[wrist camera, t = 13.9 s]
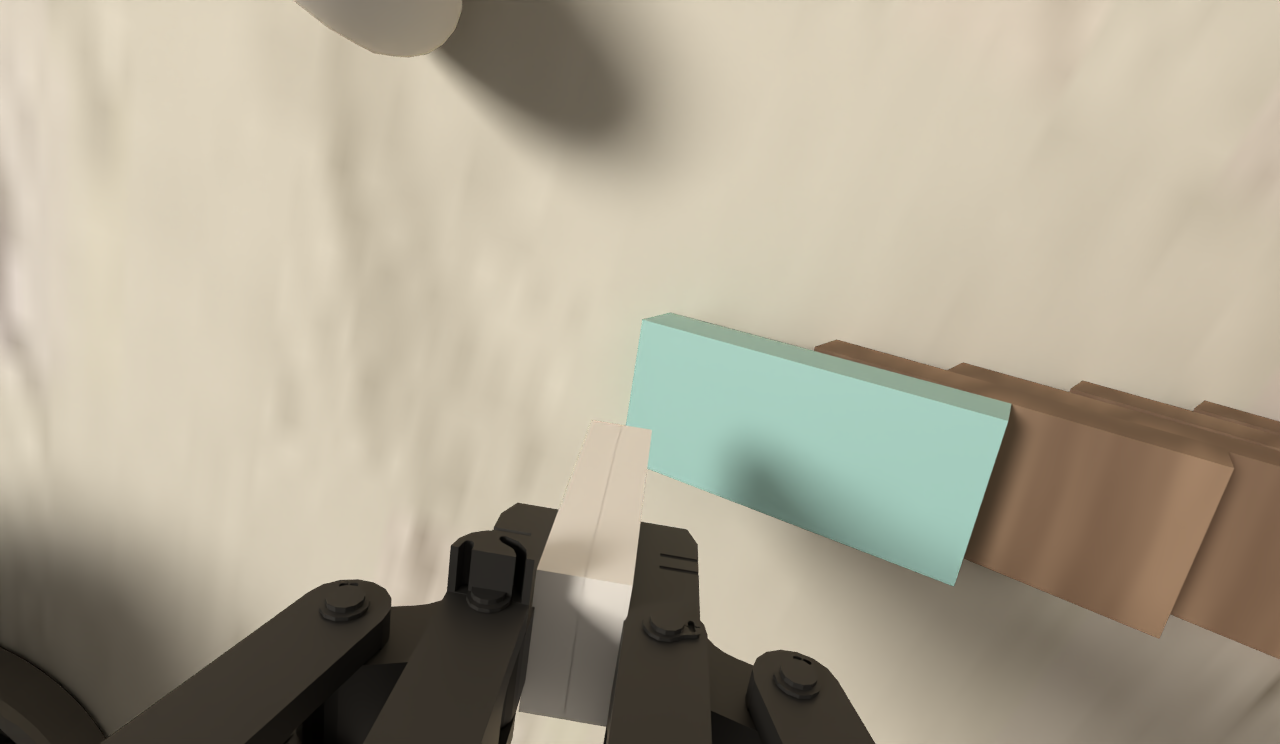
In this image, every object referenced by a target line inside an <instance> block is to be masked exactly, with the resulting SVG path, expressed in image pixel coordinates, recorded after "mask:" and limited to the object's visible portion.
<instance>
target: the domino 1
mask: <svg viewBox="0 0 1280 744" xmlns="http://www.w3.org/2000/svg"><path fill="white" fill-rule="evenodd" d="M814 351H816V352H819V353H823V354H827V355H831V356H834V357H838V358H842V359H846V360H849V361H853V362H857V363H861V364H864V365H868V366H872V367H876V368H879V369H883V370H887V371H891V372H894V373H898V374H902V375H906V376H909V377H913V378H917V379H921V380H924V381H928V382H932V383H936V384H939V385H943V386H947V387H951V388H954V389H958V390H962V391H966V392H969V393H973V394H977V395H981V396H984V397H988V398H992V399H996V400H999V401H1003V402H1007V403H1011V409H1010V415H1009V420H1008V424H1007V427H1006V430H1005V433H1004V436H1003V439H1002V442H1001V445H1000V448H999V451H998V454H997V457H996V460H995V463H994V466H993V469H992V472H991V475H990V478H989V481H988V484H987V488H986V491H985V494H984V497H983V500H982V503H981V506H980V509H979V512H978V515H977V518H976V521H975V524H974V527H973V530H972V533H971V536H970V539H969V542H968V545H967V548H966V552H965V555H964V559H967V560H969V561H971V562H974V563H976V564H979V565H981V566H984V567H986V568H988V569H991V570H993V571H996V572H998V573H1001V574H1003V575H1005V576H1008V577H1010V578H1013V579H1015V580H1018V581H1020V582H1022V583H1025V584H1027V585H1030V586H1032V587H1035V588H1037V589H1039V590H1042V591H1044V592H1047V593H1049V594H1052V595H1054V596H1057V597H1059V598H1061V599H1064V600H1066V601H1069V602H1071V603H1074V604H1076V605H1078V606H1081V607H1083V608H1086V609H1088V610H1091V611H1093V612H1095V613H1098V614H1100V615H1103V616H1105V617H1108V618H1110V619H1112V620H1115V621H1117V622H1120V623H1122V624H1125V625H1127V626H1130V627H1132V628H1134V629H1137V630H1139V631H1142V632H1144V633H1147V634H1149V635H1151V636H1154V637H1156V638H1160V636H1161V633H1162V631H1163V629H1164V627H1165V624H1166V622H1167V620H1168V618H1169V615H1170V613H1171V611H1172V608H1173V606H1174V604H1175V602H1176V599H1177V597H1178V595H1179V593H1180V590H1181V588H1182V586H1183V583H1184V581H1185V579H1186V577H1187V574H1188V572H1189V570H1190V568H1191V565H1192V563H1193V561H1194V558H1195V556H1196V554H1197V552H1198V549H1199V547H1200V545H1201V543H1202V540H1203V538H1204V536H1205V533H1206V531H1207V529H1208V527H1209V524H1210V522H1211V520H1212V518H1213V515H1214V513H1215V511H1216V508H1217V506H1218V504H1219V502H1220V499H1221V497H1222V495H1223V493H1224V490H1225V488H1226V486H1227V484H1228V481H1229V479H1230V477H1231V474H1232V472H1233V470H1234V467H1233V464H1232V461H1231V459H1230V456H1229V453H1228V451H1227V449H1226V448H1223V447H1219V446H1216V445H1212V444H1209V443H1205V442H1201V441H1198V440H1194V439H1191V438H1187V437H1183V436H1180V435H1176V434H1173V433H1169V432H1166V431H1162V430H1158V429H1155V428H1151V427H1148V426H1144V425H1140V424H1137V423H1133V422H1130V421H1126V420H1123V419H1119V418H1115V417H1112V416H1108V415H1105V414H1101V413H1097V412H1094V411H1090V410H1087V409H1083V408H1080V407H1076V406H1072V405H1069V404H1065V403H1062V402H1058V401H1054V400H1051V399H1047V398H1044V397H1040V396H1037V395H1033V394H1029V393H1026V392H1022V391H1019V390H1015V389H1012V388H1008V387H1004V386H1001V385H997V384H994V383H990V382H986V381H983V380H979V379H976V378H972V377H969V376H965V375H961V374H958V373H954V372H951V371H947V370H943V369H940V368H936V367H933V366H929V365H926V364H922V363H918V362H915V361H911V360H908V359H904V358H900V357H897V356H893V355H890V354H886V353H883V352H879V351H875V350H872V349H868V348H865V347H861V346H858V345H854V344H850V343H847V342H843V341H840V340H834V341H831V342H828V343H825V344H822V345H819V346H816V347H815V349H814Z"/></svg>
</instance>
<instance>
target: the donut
mask: <svg viewBox="0 0 1280 744" xmlns="http://www.w3.org/2000/svg"><path fill="white" fill-rule="evenodd" d="M293 1H295V2H296V3H297V4H298V5H300V6H301V7H302V8H303V9H305V10H306V11H307V12H309V13H310V14H311V15H312V16H314V17H315V18H316V19H318V20H319V21H320V22H321V23H323V24H324V25H325V26H326V27H328V28H329V29H331V30H333V31H334V32H336V33H338V34H340V35H341V36H343V37H345V38H347V39H348V40H350V41H352V42H354V43H355V44H357V45H359V46H361V47H363V48H365V49H367V50H369V51H371V52H373V53H376V54H382V55H389V56H396V57H414V56H419V55H425V54H428V53H430V52H432V51H433V50H435V49H437V48H438V47H440V46H442V45H443V44H444V43H445V42H446V41H447V39H448V38H449V37H450V35H451V34H452V33H453V32H454V30H455V29H456V26H457V23H458V20H459V17H460V15H461V12H462V0H293Z"/></svg>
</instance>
